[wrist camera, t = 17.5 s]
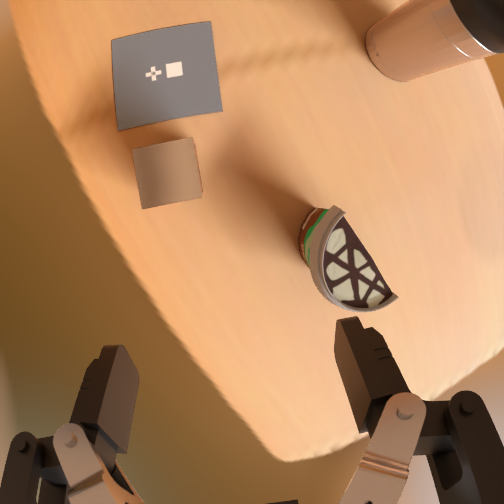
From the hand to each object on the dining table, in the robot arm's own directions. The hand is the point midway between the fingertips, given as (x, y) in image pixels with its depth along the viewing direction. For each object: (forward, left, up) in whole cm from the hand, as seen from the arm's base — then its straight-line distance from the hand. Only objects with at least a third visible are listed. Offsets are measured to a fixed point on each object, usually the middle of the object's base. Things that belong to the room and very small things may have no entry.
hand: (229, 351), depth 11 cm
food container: (-12, +5, -26) cm, 29 cm away
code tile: (+3, -19, -26) cm, 32 cm away
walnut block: (+3, -7, -26) cm, 27 cm away
